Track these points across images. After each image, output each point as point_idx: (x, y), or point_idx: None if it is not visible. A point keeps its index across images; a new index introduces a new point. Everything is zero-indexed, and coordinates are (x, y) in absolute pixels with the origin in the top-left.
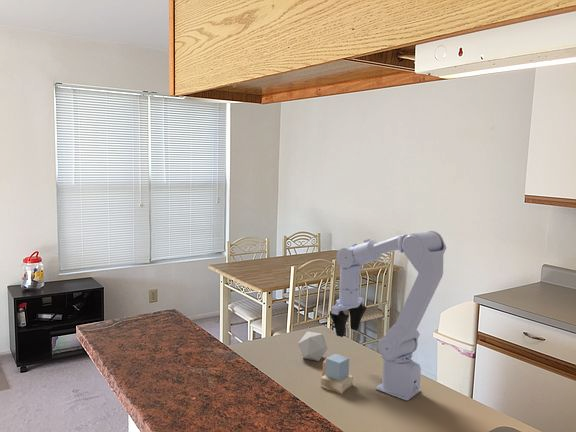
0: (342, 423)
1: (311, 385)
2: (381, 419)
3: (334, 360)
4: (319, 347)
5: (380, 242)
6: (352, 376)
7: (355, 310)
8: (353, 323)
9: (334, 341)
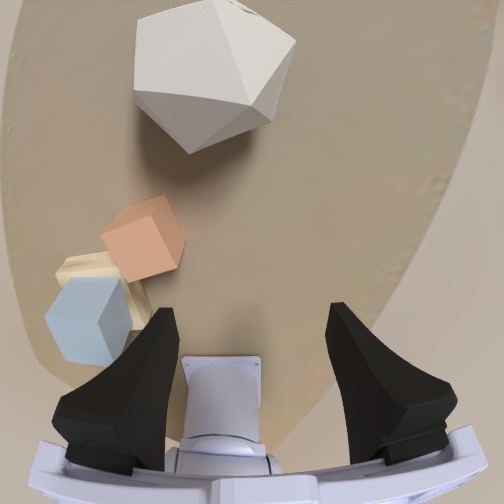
0: (38, 358)
1: (51, 234)
2: None
3: (61, 343)
4: (175, 140)
5: None
6: (142, 329)
7: (365, 432)
8: (339, 344)
9: (439, 53)
